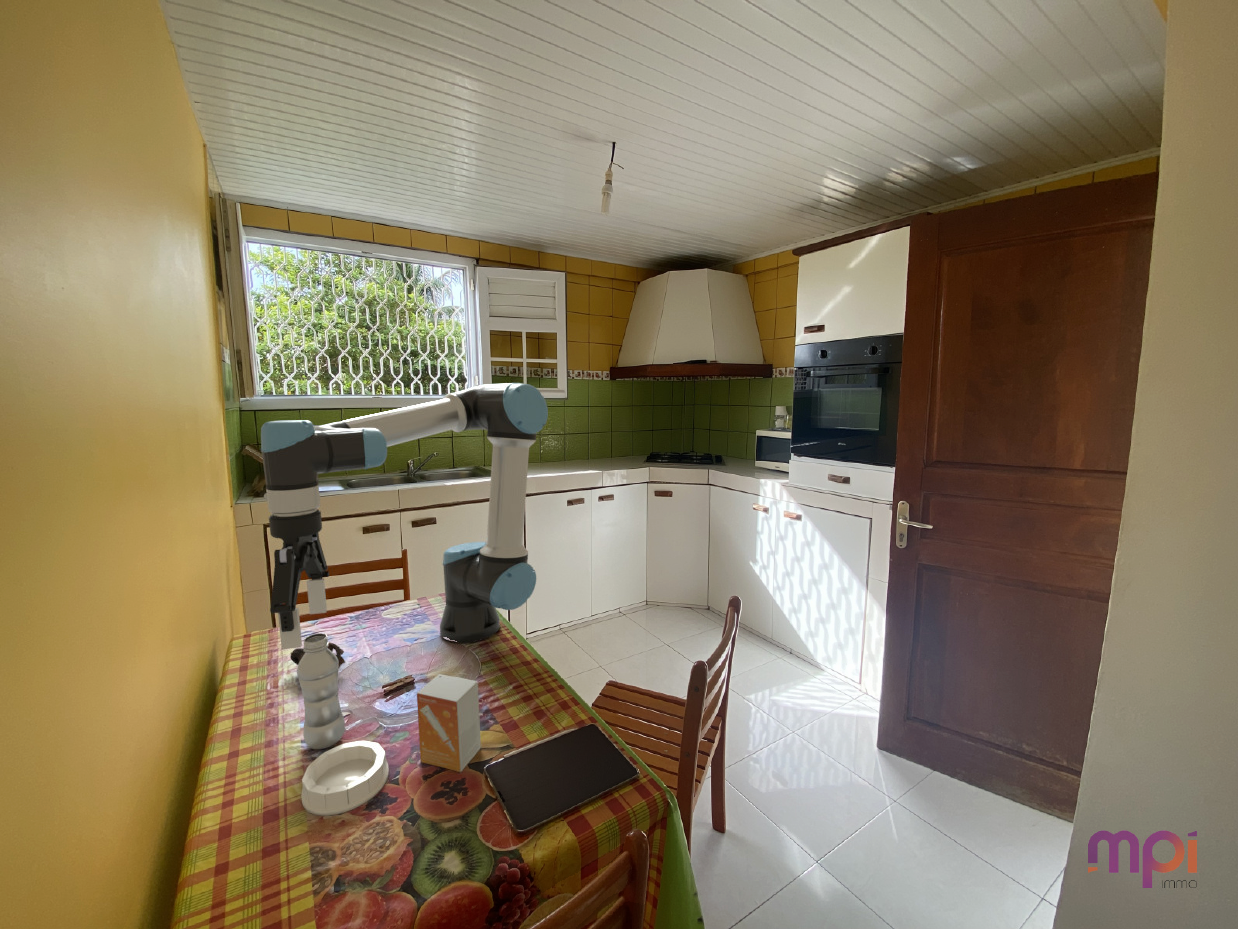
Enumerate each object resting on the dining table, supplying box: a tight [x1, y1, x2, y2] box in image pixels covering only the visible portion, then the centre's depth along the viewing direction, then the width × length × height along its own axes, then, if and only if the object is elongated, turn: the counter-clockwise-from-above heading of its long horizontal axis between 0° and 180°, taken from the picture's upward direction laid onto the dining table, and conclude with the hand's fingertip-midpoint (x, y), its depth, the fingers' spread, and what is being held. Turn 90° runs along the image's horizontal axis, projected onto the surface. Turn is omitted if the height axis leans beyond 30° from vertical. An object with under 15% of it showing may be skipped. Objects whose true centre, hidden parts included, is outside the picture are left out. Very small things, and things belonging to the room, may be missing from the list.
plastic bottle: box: [296, 632, 346, 750], centre depth 90 cm, size 6×7×20 cm
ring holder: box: [300, 739, 390, 817], centre depth 82 cm, size 12×12×3 cm
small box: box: [416, 673, 482, 773], centre depth 87 cm, size 8×6×13 cm
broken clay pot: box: [290, 641, 346, 670], centre depth 113 cm, size 12×10×8 cm
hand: (306, 629), depth 90 cm, fingers open, 13 cm apart
